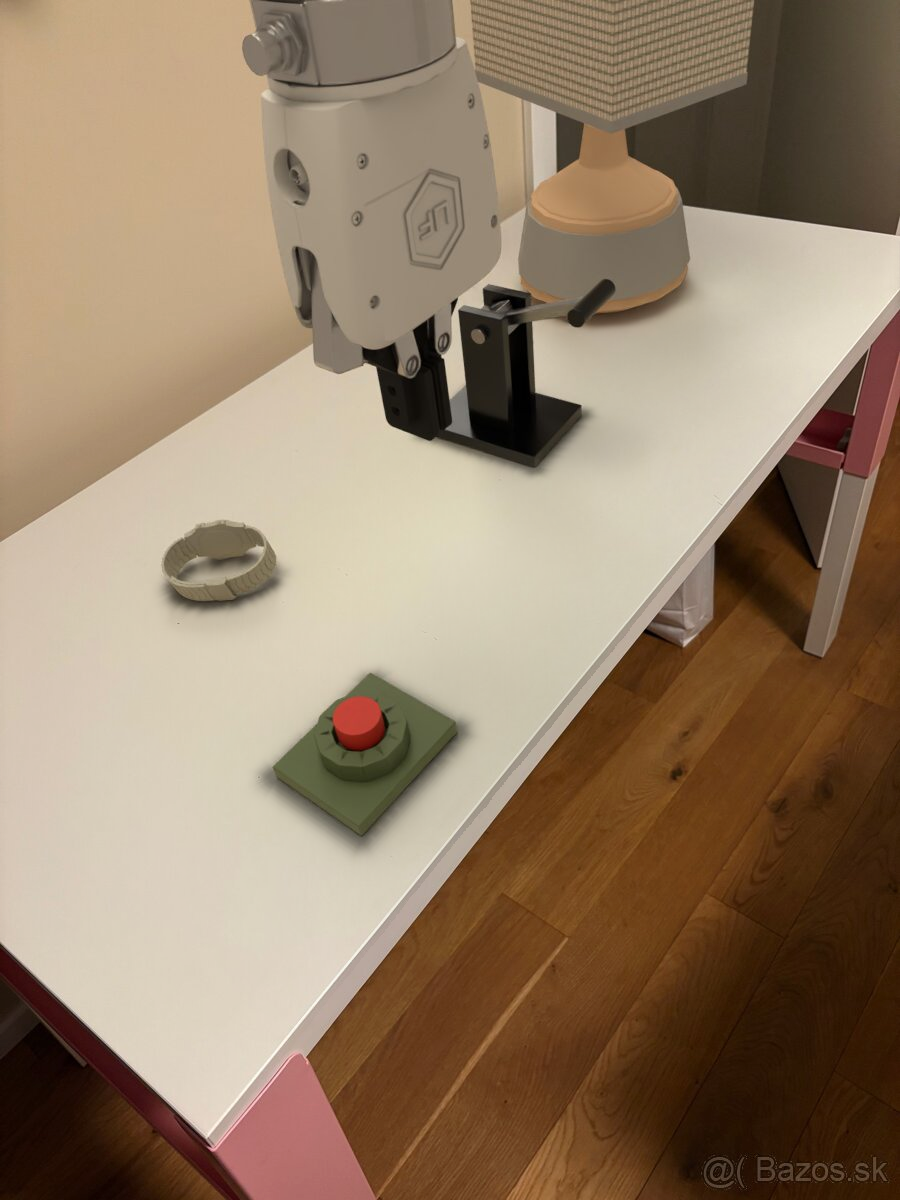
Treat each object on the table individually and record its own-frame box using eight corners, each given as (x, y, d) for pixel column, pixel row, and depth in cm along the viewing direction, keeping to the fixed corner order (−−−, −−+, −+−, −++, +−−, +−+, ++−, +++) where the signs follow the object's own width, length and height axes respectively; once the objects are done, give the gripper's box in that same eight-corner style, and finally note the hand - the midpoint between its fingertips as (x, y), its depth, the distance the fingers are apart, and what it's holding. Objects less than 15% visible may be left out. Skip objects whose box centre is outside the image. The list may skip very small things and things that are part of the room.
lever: (619, 299, 78) (610, 272, 77) (588, 331, 75) (578, 303, 74) (504, 320, 86) (495, 295, 85) (472, 349, 83) (461, 324, 82)
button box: (372, 682, 70) (366, 655, 68) (457, 731, 66) (453, 705, 64) (275, 776, 65) (265, 751, 63) (361, 836, 61) (353, 811, 59)
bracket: (581, 415, 91) (581, 290, 81) (534, 467, 86) (528, 341, 77) (476, 386, 96) (464, 266, 87) (426, 434, 91) (408, 312, 82)
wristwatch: (282, 548, 81) (268, 503, 78) (276, 600, 77) (261, 555, 73) (177, 560, 82) (159, 515, 78) (165, 612, 77) (145, 568, 74)
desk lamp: (479, 280, 112) (447, -101, 86) (606, 228, 118) (612, -142, 92) (596, 353, 98) (599, -74, 72) (733, 290, 104) (782, -124, 78)
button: (359, 705, 65) (355, 688, 64) (394, 726, 63) (390, 710, 62) (327, 736, 63) (322, 720, 62) (362, 758, 62) (358, 743, 60)
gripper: (286, 106, 31) (378, 532, 44) (548, -21, 38) (560, 375, 51) (142, 81, 34) (267, 480, 47) (407, -31, 42) (452, 340, 55)
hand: (419, 425), depth 49 cm, fingers closed
